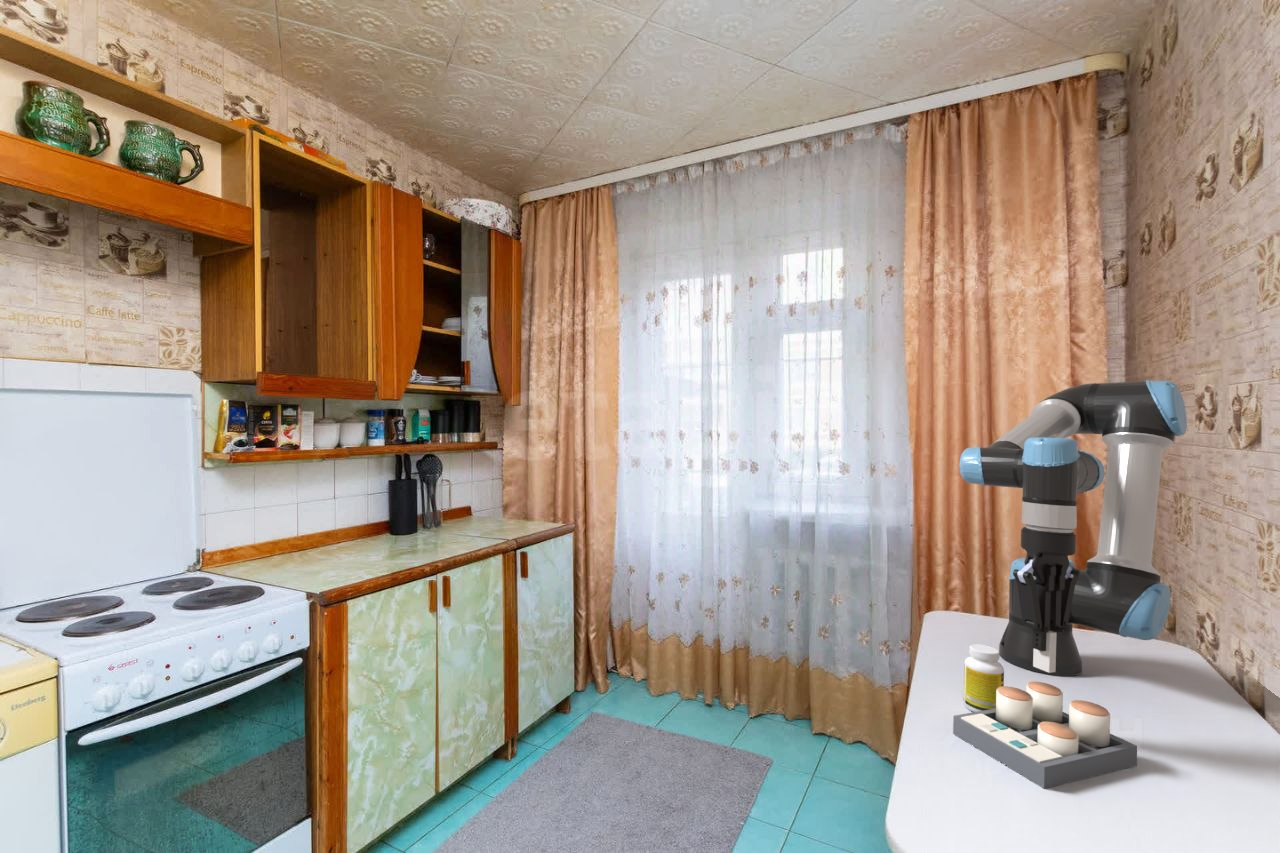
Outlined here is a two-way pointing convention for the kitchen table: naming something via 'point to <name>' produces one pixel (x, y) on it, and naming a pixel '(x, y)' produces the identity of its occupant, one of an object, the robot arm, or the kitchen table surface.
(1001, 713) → the button
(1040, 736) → the button
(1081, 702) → the button
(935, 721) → the kitchen table surface
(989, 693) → the pill bottle
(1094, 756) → the board
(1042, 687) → the button
